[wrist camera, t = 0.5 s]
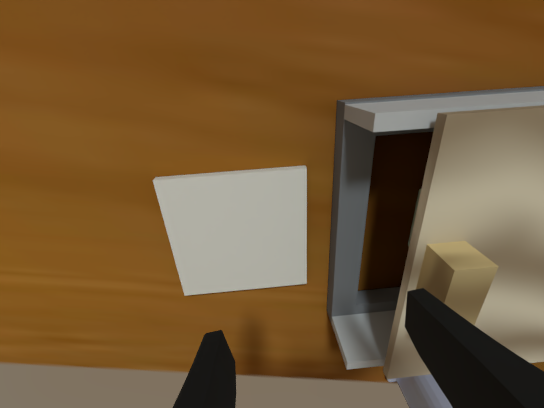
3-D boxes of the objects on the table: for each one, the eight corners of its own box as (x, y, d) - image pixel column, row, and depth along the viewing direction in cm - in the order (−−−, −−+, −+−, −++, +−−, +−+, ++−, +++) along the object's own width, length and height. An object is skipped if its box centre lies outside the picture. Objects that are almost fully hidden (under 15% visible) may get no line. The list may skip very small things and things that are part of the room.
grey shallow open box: (584, 283, 25) (666, 334, 20) (326, 310, 24) (346, 370, 19) (714, 74, 17) (902, 73, 12) (337, 100, 16) (375, 111, 11)
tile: (305, 278, 22) (306, 283, 22) (186, 290, 22) (184, 295, 21) (304, 165, 18) (306, 168, 17) (155, 177, 17) (152, 180, 17)
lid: (555, 351, 19) (597, 389, 17) (382, 370, 19) (401, 412, 16) (724, 92, 11) (845, 96, 9) (437, 112, 11) (488, 122, 9)
